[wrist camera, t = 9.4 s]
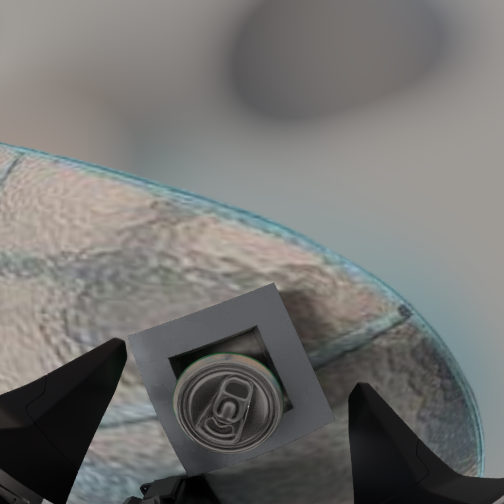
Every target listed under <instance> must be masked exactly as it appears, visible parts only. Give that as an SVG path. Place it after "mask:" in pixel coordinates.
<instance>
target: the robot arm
mask: <svg viewBox="0 0 504 504" xmlns="http://www.w3.org/2000/svg"><path fill="white" fill-rule="evenodd" d="M126 360H127V351H126V344H125V341H124V340H122V339H119V338H113V339H111V340H109V341H107V342H105V343H104V344H102V345H100V346H98V347H96V348H94V349H93V350H91V351H89V352H87V353H85V354H83V355H82V356H80V357H78V358H76V359H74V360H72V361H71V362H69V363H67V364H65V365H63V366H61V367H60V368H58V369H56V370H54V371H52V372H50V373H48V374H47V375H45V376H43V377H41V378H39V379H37V380H35V381H33V382H31V383H29V384H27V385H24V386H22V387H20V388H17V389H15V390H12V391H9V392H7V393H4V394H2V395H0V504H41V503H42V501H43V499H46V500H48V501H50V502H51V503H53V504H66V502H67V499H68V496H69V494H70V491H71V489H72V486H73V484H74V481H75V479H76V476H77V474H78V471H79V469H80V466H81V464H82V462H83V459H84V457H85V455H86V452H87V450H88V448H89V446H90V443H91V441H92V439H93V437H94V435H95V432H96V430H97V428H98V426H99V424H100V422H101V420H102V417H103V415H104V413H105V411H106V409H107V407H108V405H109V403H110V401H111V399H112V397H113V395H114V393H115V390H116V388H117V385H118V382H119V379H120V377H121V374H122V371H123V368H124V366H125V363H126ZM348 412H349V426H348V427H349V441H350V451H351V462H352V474H353V489H354V504H504V478H480V477H469V476H463V475H460V474H458V473H456V472H455V471H454V470H453V469H451V468H450V467H449V466H448V465H447V464H446V463H444V462H443V461H442V460H441V459H440V458H439V457H437V456H436V455H435V454H434V453H433V452H432V451H431V450H430V449H429V448H428V447H427V446H426V445H425V444H424V443H423V442H422V441H421V440H420V439H419V438H418V436H417V435H416V434H415V433H414V432H413V431H412V430H411V429H410V428H409V427H408V426H407V425H406V423H405V422H404V421H403V420H402V419H401V418H400V417H399V416H398V415H397V414H396V413H395V411H394V410H393V409H392V408H391V407H390V406H389V405H388V404H387V403H386V402H385V401H384V400H383V398H382V397H381V396H380V395H379V394H378V393H377V392H376V391H375V390H374V389H373V388H372V386H371V385H370V384H369V383H366V382H359V383H357V384H356V386H355V387H354V389H353V390H352V392H351V393H350V395H349V399H348ZM199 477H200V478H202V480H198V479H197V478H199ZM144 488H147V489H148V490H145V489H144ZM140 490H141V492H142V493H143V495H144V497H143V499H141V498H137V497H134V496H132V497H129V498H127V499H126V500H125V502H124V503H123V504H222V503H221V501H220V500H219V498H218V497H217V495H216V494H215V492H214V490H213V489H212V487H211V486H210V484H209V482H208V481H207V479H206V477H205V476H204V475H202V474H198V475H194V476H190V477H189V476H186V477H182V478H181V477H179V476H176V477H171V478H166V479H160V480H155V481H154V482H153V483H148V484H143V485H142V486H141V487H140Z"/></svg>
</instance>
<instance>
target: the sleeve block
mask: <svg viewBox="0 0 504 504" xmlns="http://www.w3.org/2000/svg"><path fill="white" fill-rule="evenodd" d="M251 330H253V332H254V334H255V336H256V339H257V341H258V343H259V346H260V348H261V350H262V352H263V355H264V357H265V359H266V361H267V364H268V366H269V368H270V370H271V372H272V373H273V375H274V376H275V377H276V379H277V381H278V383H279V384H280V387H281V390H282V393H283V399H284V401H285V402H284V410H283V416H282V419H281V421H280V424H279V426H278V428H277V429H276V431H275V432H274V433H273V435H272V436H271V437H270V438H269V439H268V440H267V441H266V442H264V443H263V444H261V445H260V446H258V447H256V448H254V449H252V450H250V451H247V452H243V453H238V454H220V453H215V452H212V451H209V450H207V449H205V448H202V447H200V446H199V445H197V444H196V443H194V442H193V441H191V440H190V439H189V438H188V437H187V436H186V435H185V434H184V432H183V431H182V430H181V428H180V427H179V425H178V423H177V421H176V418H175V416H174V412H173V407H172V397H173V391H174V388H175V385H176V382H177V380H178V379H179V377H180V375H181V374H182V370H181V368H180V365H179V363H178V360H177V358H178V357H181V356H184V355H187V354H190V353H193V352H196V351H199V350H201V349H204V348H207V347H210V346H212V345H215V344H218V343H220V342H223V341H226V340H228V339H231V338H233V337H236V336H239V335H241V334H244V333H246V332H249V331H251ZM128 339H129V342H130V345H131V349H132V352H133V354H134V357H135V360H136V363H137V366H138V369H139V371H140V374H141V377H142V380H143V382H144V385H145V387H146V390H147V392H148V395H149V397H150V400H151V402H152V404H153V407H154V409H155V411H156V413H157V416H158V418H159V420H160V422H161V424H162V426H163V429H164V431H165V433H166V435H167V437H168V439H169V441H170V443H171V445H172V447H173V449H174V451H175V452H176V454H177V456H178V458H179V460H180V462H181V463H182V465H183V467H184V469H185V471H186V472H187V474H188V476H189V477H190V476H194V475H198V474H202V473H206V472H210V471H213V470H217V469H220V468H223V467H227V466H230V465H233V464H236V463H239V462H242V461H245V460H248V459H250V458H253V457H256V456H258V455H261V454H264V453H266V452H269V451H271V450H274V449H276V448H278V447H281V446H283V445H285V444H288V443H290V442H292V441H294V440H296V439H298V438H301V437H303V436H305V435H307V434H309V433H311V432H313V431H315V430H317V429H319V428H321V427H322V426H324V425H326V424H328V423H330V422H332V421H333V420H335V417H334V415H333V413H332V410H331V408H330V406H329V404H328V401H327V399H326V397H325V395H324V392H323V390H322V388H321V386H320V383H319V381H318V379H317V377H316V374H315V372H314V370H313V368H312V365H311V363H310V361H309V359H308V357H307V354H306V352H305V350H304V348H303V345H302V343H301V341H300V339H299V337H298V334H297V332H296V330H295V328H294V325H293V323H292V321H291V319H290V317H289V314H288V312H287V310H286V308H285V306H284V303H283V301H282V299H281V297H280V295H279V292H278V290H277V288H276V286H275V284H274V283H272V284H269V285H266V286H264V287H261V288H259V289H256V290H254V291H251V292H249V293H246V294H243V295H241V296H238V297H236V298H233V299H230V300H228V301H225V302H222V303H220V304H217V305H214V306H212V307H209V308H206V309H204V310H201V311H198V312H195V313H193V314H190V315H187V316H184V317H181V318H179V319H176V320H173V321H170V322H167V323H164V324H162V325H159V326H156V327H153V328H150V329H147V330H144V331H141V332H138V333H135V334H132V335H129V336H128Z"/></svg>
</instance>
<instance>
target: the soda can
mask: <svg viewBox="0 0 504 504" xmlns="http://www.w3.org/2000/svg"><path fill="white" fill-rule="evenodd" d="M172 407H173V412H174V416H175V418H176V421H177V423H178V425H179V427H180V428H181V430H182V431H183V432H184V434H185V435H186V436H187V437H188V438H189V439H190V440H191V441H193V442H194V443H196V444H197V445H199V446H200V447H202V448H205V449H207V450H209V451H212V452H215V453H220V454H238V453H243V452H247V451H250V450H252V449H254V448H256V447H258V446H260V445H261V444H263V443H264V442H266V441H267V440H268V439H269V438H270V437H271V436H272V435H273V433H274V432H275V431H276V429H277V428H278V426H279V424H280V421H281V419H282V416H283V410H284V399H283V393H282V390H281V387H280V384H279V383H278V381H277V379H276V377H275V376H274V375H273V373H272V372H271V371H270V370H269V369H268V368H267V367H266V366H265V365H263V364H262V363H261V362H259V361H258V360H256V359H254V358H252V357H250V356H246V355H243V354H239V353H233V352H221V353H214V354H210V355H206V356H204V357H202V358H200V359H198V360H196V361H195V362H193V363H192V364H190V365H189V366H188V367H187V368H186V369H185V370H184V371H183V373H182V374H181V375H180V377H179V379H178V380H177V382H176V385H175V388H174V391H173V397H172Z"/></svg>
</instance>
